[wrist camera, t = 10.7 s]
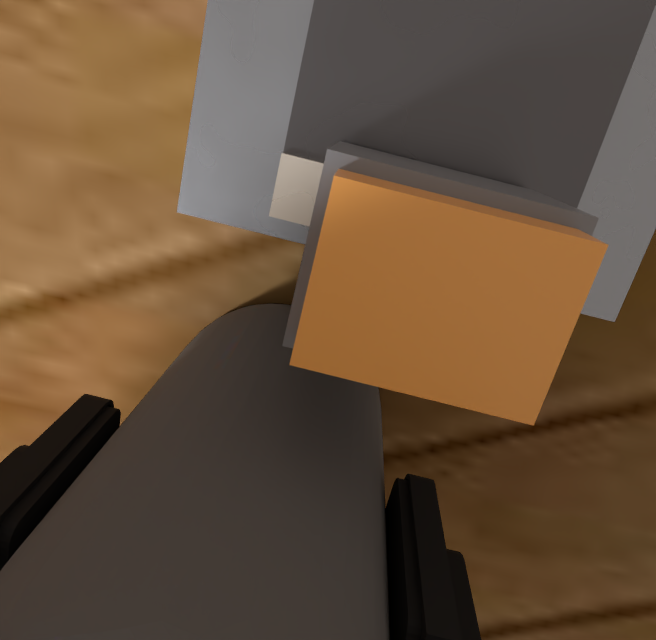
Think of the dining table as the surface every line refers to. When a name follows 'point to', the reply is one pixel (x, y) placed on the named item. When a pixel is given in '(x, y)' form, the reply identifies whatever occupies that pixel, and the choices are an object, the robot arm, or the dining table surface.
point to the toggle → (439, 283)
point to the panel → (431, 108)
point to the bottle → (219, 508)
